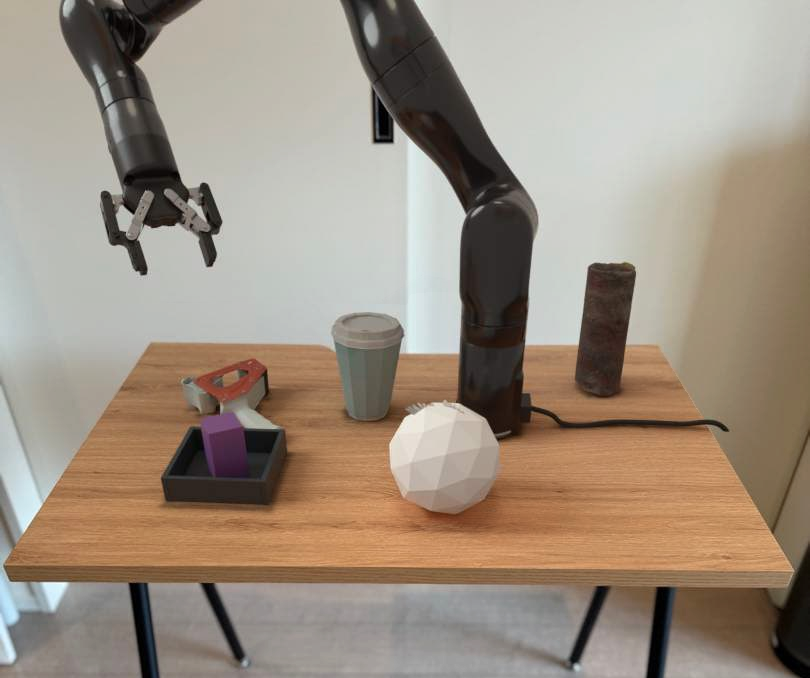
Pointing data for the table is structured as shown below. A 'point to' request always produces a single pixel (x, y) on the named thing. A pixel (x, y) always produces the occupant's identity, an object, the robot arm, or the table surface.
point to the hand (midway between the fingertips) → (178, 268)
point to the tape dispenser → (232, 393)
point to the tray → (196, 484)
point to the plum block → (225, 446)
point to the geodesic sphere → (444, 457)
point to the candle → (604, 327)
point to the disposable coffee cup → (367, 361)
